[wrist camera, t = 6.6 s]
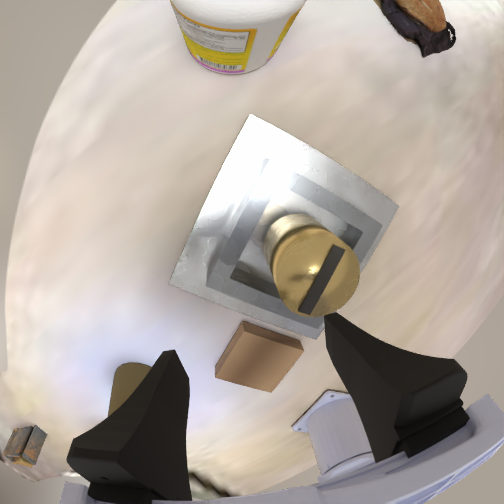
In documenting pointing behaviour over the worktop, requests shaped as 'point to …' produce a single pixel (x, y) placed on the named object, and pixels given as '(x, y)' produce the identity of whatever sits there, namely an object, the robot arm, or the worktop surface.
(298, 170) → the grey square tray
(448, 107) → the worktop surface
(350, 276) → the slotted brass cylinder
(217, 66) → the supplement bottle
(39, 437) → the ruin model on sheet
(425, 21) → the bread roll
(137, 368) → the cork
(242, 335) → the stand
